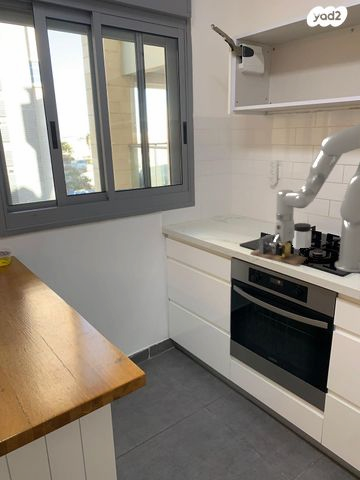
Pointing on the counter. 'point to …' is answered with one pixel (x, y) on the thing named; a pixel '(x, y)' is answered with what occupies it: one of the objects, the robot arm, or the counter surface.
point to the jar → (302, 235)
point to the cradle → (274, 251)
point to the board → (281, 258)
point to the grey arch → (262, 244)
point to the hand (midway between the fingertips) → (283, 252)
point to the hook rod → (285, 248)
